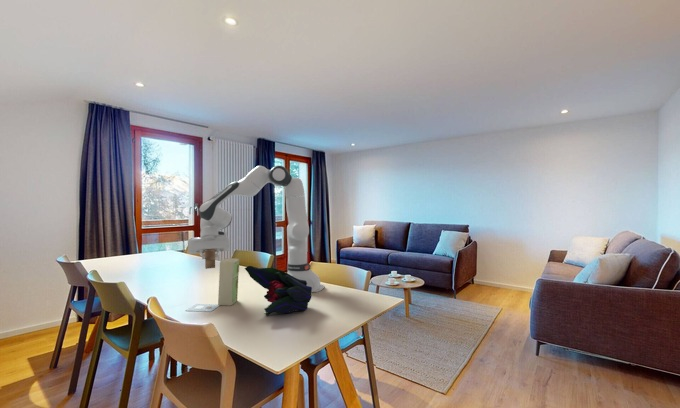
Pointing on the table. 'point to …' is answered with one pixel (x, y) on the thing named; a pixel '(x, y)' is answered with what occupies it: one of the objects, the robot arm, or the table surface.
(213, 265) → the walnut block
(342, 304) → the table surface
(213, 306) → the page
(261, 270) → the decorative plant
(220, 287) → the tall cream box
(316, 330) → the table surface
